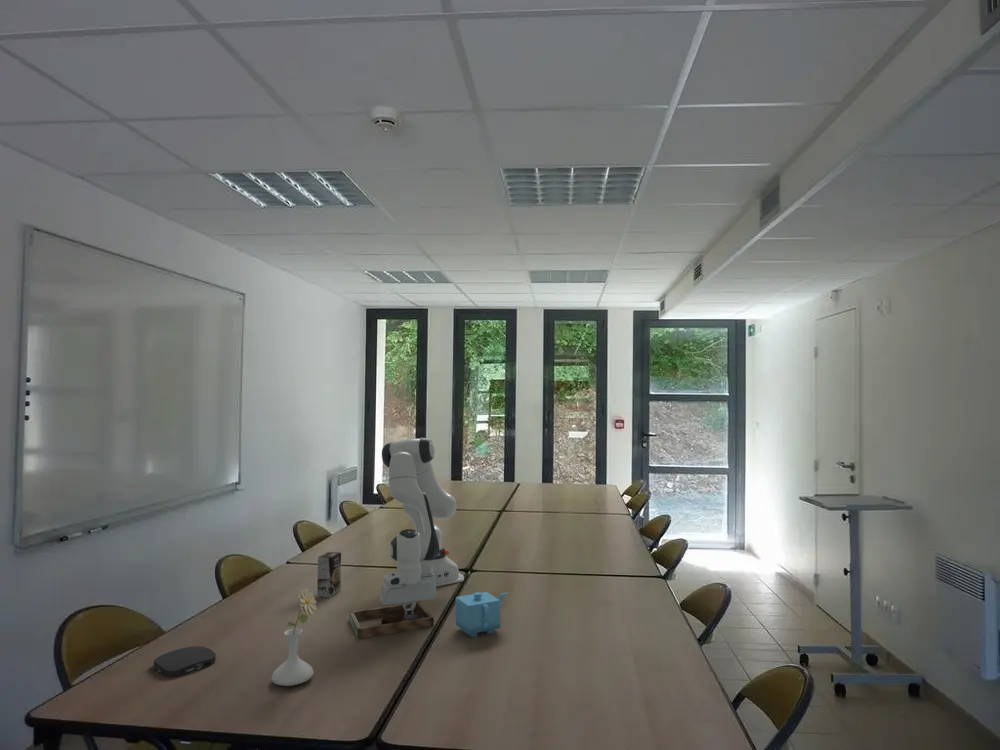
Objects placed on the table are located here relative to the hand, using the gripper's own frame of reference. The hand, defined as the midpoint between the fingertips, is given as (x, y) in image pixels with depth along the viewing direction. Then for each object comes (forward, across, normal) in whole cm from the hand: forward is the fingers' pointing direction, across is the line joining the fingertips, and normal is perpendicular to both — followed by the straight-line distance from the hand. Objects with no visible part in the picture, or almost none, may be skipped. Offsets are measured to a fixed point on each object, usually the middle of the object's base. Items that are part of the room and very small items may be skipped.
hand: (408, 614), depth 216 cm
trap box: (+2, +6, 0) cm, 7 cm away
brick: (+2, +6, +2) cm, 7 cm away
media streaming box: (+3, +72, +7) cm, 72 cm away
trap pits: (+2, -2, 0) cm, 3 cm away
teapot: (+3, -22, +19) cm, 29 cm away
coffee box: (+2, +22, -43) cm, 49 cm away
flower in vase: (+3, +42, +32) cm, 52 cm away
